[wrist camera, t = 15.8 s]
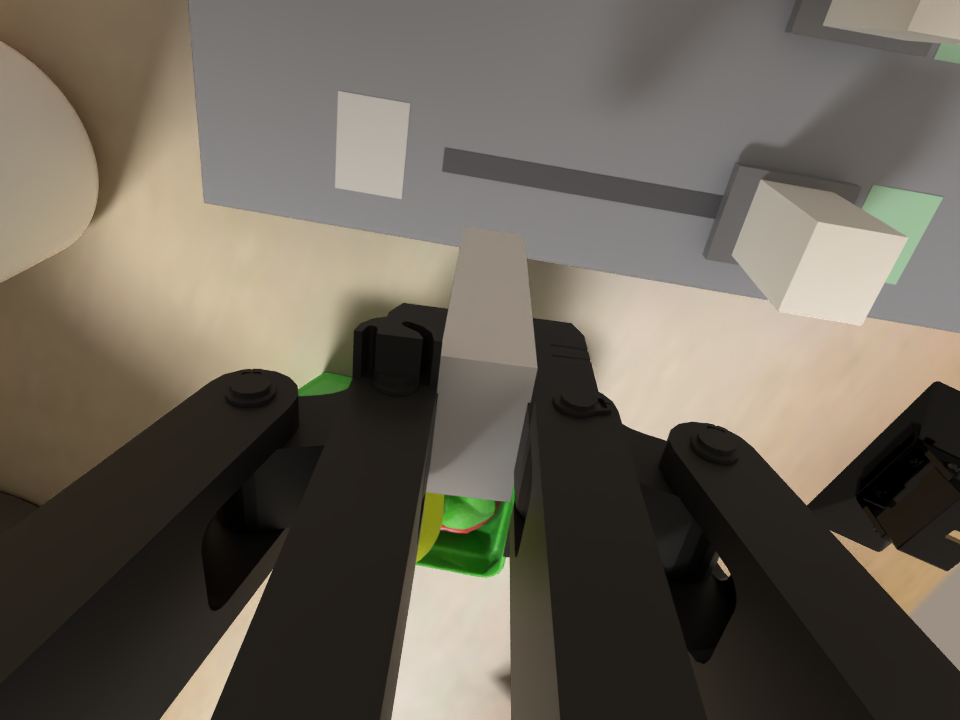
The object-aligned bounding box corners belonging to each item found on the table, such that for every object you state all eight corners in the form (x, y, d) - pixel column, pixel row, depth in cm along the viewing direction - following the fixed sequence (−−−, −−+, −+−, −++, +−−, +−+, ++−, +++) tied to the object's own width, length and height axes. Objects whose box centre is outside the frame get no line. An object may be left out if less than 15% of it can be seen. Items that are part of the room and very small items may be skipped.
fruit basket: (293, 466, 32) (191, 664, 23) (296, 320, 28) (171, 487, 18) (503, 504, 33) (491, 715, 23) (539, 365, 28) (544, 555, 18)
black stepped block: (865, 567, 34) (909, 641, 30) (756, 519, 33) (786, 589, 29) (1063, 403, 28) (1150, 468, 24) (938, 338, 27) (1008, 395, 23)
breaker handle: (702, 254, 21) (745, 316, 17) (734, 162, 20) (792, 205, 15) (813, 273, 21) (884, 340, 17) (854, 183, 20) (945, 231, 16)
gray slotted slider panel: (238, 182, 25) (203, 203, 22) (216, -249, 18) (164, -292, 16) (953, 306, 25) (1002, 340, 23) (1183, -72, 19) (1289, -85, 16)
